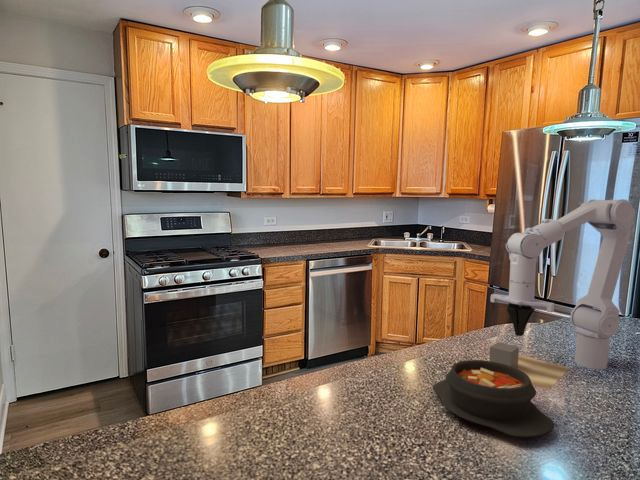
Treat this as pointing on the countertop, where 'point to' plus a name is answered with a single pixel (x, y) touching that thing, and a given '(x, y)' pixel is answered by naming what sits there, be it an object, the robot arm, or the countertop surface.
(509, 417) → the casserole
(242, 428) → the countertop surface
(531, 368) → the board
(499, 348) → the grey cube
